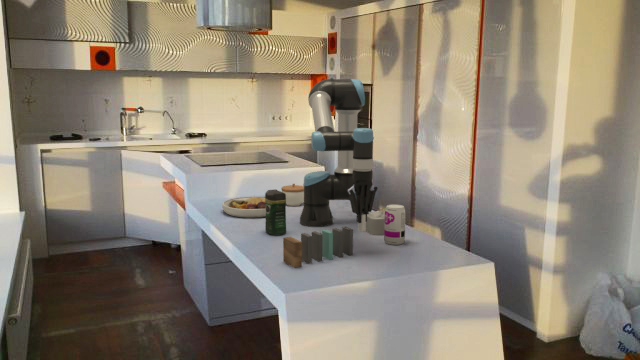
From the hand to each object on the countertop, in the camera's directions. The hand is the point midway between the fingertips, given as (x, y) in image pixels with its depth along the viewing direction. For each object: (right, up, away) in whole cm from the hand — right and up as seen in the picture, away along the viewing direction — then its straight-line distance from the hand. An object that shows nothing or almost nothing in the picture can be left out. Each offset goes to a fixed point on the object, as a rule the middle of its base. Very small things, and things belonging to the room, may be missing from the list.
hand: (361, 230), depth 232 cm
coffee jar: (-35, -3, +28) cm, 45 cm away
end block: (-26, -11, -14) cm, 31 cm away
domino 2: (-17, -10, -9) cm, 22 cm away
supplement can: (+14, -6, +14) cm, 21 cm away
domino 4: (-9, -9, -4) cm, 14 cm away
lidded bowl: (-30, +6, +83) cm, 88 cm away
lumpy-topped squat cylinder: (+11, -3, +30) cm, 32 cm away
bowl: (-49, +3, +67) cm, 83 cm away
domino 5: (-6, -9, -2) cm, 10 cm away
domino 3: (-13, -9, -7) cm, 18 cm away
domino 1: (-21, -10, -11) cm, 26 cm away
